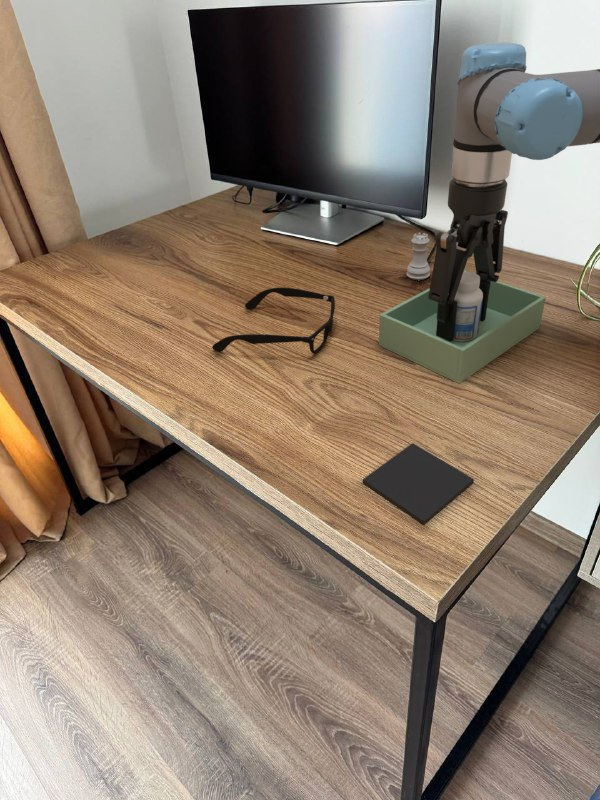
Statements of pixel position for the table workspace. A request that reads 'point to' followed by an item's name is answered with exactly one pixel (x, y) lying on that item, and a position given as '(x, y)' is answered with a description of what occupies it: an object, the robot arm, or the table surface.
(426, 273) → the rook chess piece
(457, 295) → the pill bottle
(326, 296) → the glasses
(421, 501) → the mat
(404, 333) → the tote
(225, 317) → the table surface
